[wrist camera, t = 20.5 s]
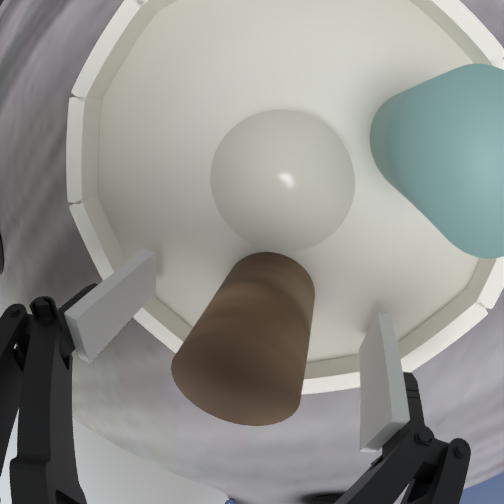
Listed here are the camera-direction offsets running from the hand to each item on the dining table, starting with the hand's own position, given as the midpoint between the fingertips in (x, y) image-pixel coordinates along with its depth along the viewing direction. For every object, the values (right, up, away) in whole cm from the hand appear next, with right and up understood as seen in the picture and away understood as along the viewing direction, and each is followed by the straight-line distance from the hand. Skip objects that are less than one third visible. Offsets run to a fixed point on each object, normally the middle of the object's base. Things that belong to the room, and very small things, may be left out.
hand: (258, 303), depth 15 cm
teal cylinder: (+7, +8, -4) cm, 11 cm away
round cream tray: (+2, +7, -1) cm, 7 cm away
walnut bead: (+1, 0, +1) cm, 1 cm away
